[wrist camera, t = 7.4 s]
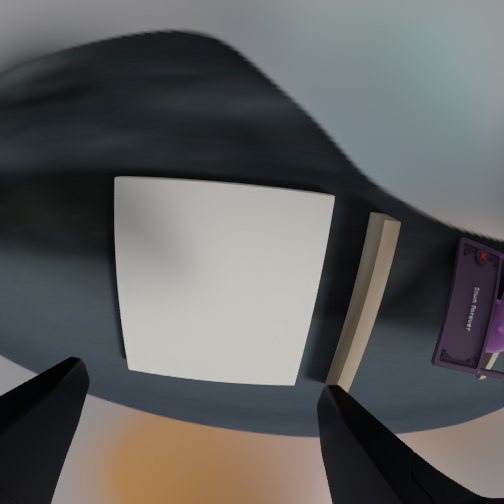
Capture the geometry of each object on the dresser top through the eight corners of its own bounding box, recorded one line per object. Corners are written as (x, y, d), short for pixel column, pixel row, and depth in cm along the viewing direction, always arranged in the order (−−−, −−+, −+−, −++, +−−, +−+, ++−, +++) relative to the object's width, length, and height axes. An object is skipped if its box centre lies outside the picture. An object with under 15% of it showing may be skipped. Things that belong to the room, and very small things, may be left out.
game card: (467, 232, 12) (563, 277, 10) (429, 253, 17) (519, 287, 15) (439, 367, 11) (542, 386, 9) (404, 354, 16) (500, 376, 14)
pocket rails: (524, 242, 13) (538, 250, 12) (475, 366, 17) (485, 378, 15) (370, 211, 12) (384, 219, 11) (324, 383, 16) (330, 401, 14)
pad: (330, 194, 12) (334, 196, 12) (292, 378, 15) (294, 385, 15) (120, 176, 12) (114, 177, 11) (131, 362, 15) (128, 369, 14)
